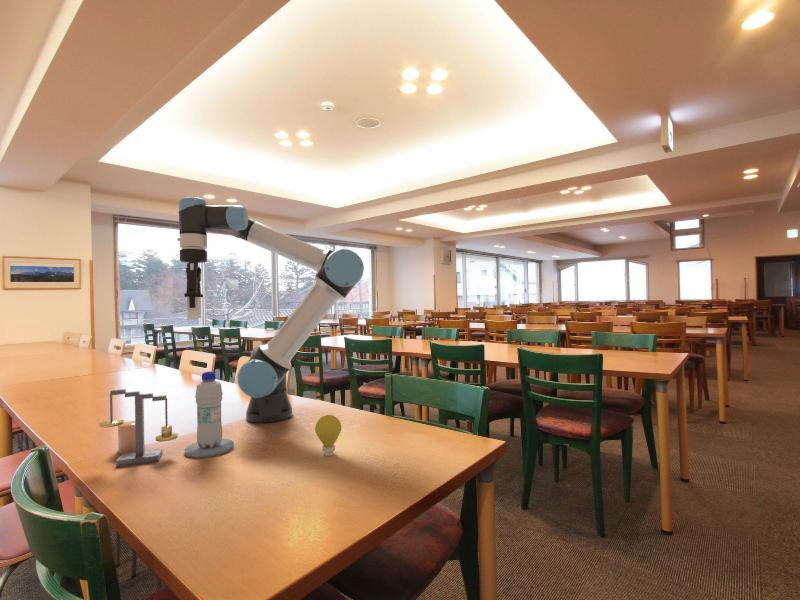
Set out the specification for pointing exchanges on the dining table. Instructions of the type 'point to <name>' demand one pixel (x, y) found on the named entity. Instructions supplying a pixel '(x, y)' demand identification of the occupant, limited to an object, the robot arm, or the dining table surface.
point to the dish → (209, 449)
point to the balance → (140, 430)
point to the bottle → (209, 411)
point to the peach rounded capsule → (126, 437)
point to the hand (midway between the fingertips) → (194, 318)
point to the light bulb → (328, 432)
